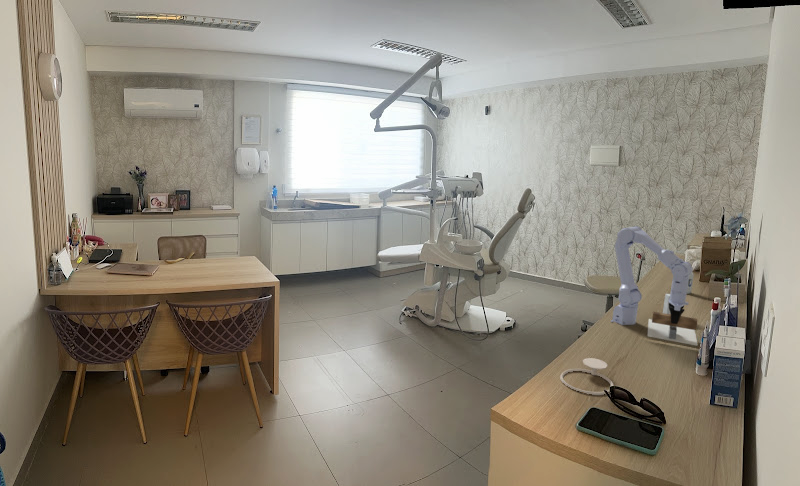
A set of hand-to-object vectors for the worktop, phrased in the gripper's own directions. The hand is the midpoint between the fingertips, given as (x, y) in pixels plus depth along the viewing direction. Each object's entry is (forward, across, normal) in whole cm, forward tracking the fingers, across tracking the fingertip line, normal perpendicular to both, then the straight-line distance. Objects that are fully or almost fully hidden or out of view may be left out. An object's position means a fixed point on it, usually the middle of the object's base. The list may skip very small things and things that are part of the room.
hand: (673, 322), depth 198 cm
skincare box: (+7, +25, 0) cm, 26 cm away
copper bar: (+1, 0, 0) cm, 1 cm away
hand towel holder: (+8, -59, +26) cm, 65 cm away
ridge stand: (+7, +6, 0) cm, 9 cm away
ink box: (+7, +81, -6) cm, 82 cm away
